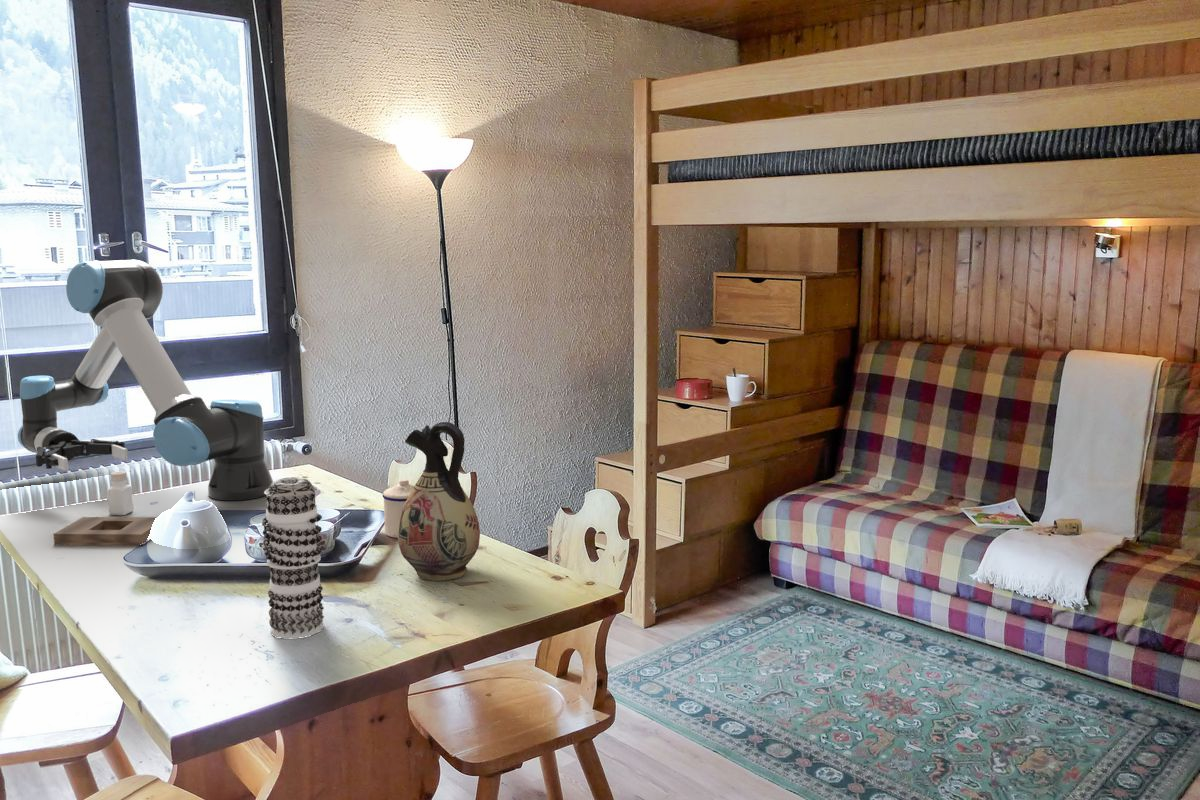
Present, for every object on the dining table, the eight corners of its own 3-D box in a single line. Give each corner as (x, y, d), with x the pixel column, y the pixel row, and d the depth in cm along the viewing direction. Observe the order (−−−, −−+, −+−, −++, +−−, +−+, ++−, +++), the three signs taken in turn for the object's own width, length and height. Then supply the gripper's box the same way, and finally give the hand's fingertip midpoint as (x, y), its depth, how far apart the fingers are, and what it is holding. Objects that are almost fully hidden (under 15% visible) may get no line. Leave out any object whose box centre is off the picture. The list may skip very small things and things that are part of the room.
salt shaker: (134, 511, 227) (131, 470, 226) (124, 516, 223) (121, 475, 222) (118, 510, 228) (115, 470, 226) (108, 515, 224) (104, 474, 222)
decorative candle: (304, 613, 169) (298, 470, 164) (337, 627, 163) (331, 480, 158) (256, 630, 162) (248, 481, 157) (289, 645, 156) (281, 491, 151)
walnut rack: (167, 528, 215) (166, 517, 215) (142, 545, 203) (141, 534, 203) (83, 527, 215) (83, 516, 214) (54, 545, 203) (53, 533, 203)
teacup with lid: (435, 532, 213) (433, 480, 211) (399, 541, 207) (397, 487, 205) (403, 520, 222) (402, 470, 220) (368, 529, 215) (366, 477, 213)
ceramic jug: (381, 579, 185) (376, 422, 180) (431, 555, 199) (428, 408, 193) (455, 595, 177) (452, 431, 172) (503, 569, 191) (501, 417, 186)
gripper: (110, 451, 253) (150, 465, 240) (3, 468, 234) (40, 485, 221) (108, 422, 252) (148, 435, 239) (0, 437, 233) (38, 452, 220)
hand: (96, 459), depth 230 cm, fingers open, 13 cm apart
